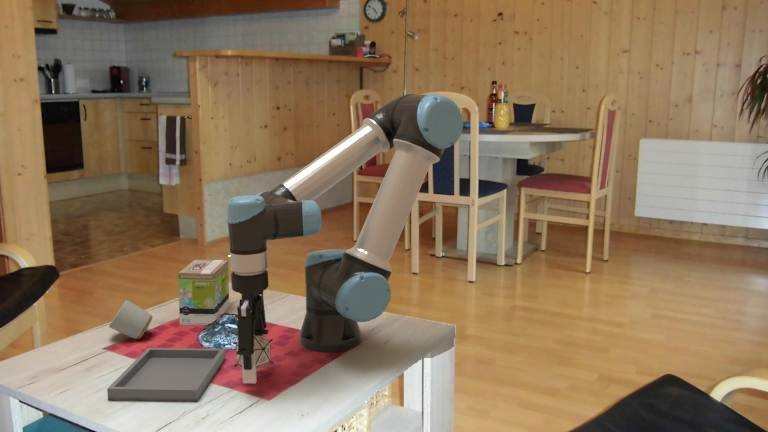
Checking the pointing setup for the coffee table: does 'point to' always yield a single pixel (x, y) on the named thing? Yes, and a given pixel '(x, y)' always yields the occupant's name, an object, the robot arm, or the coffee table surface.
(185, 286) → the tea box
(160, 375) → the tray
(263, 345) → the game die
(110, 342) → the coffee table surface
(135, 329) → the soft-edged grey cube
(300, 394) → the coffee table surface
